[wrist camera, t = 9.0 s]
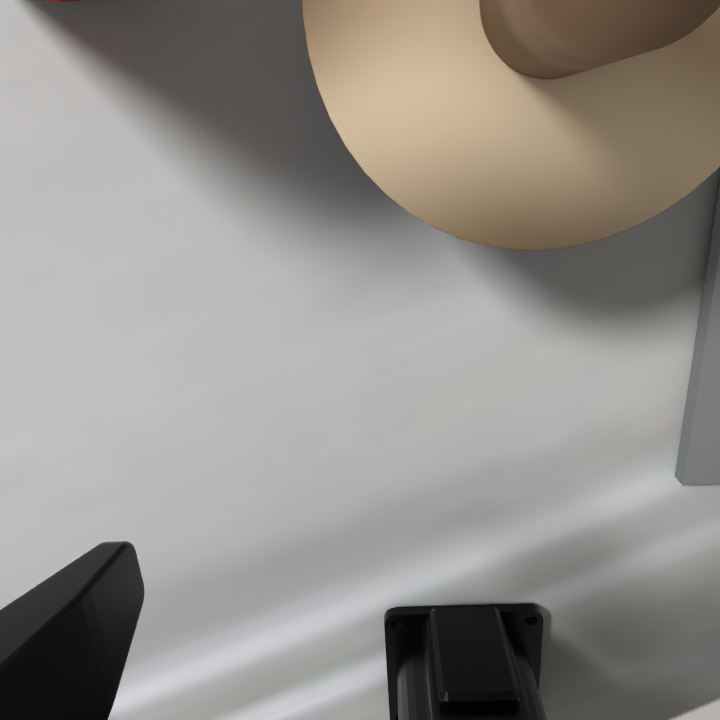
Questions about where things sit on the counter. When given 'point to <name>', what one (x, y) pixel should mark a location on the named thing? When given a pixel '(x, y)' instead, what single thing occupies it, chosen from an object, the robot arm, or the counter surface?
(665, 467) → the counter surface
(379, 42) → the lid
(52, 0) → the soda can
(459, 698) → the robot arm
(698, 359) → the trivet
